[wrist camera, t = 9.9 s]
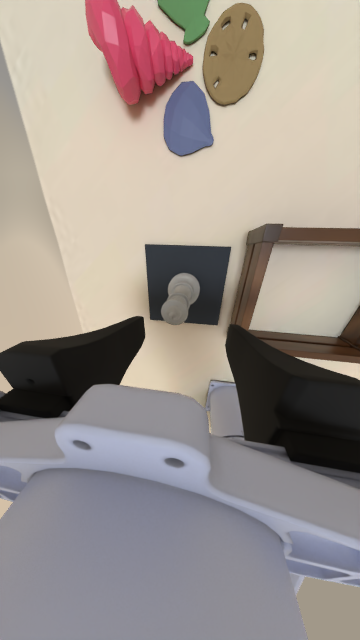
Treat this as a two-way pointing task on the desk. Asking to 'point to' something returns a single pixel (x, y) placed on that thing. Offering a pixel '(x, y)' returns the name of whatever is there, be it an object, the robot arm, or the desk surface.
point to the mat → (193, 260)
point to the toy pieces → (179, 60)
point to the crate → (354, 341)
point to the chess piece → (180, 298)
